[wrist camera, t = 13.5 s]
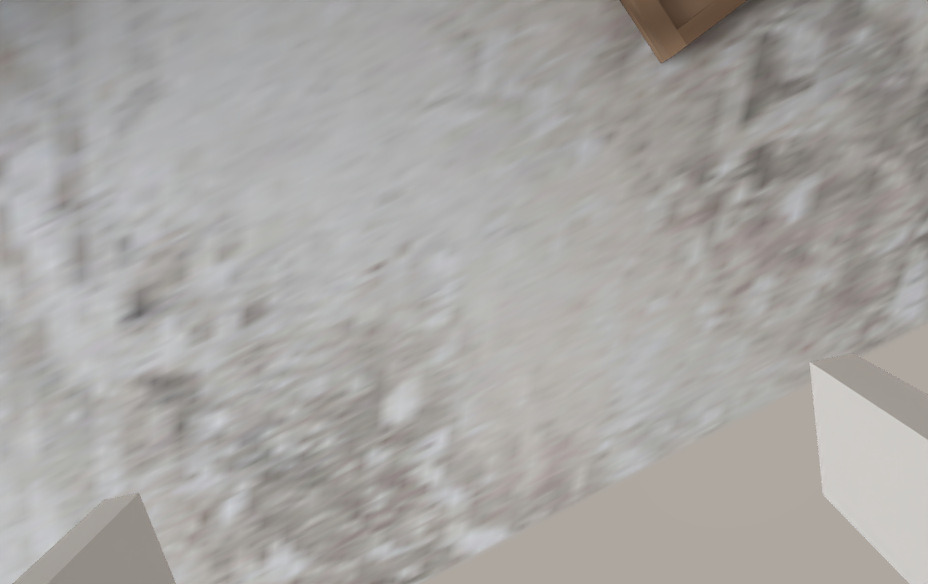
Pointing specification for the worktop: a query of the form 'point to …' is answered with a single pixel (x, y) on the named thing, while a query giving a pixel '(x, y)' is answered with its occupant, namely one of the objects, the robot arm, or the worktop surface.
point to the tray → (676, 21)
